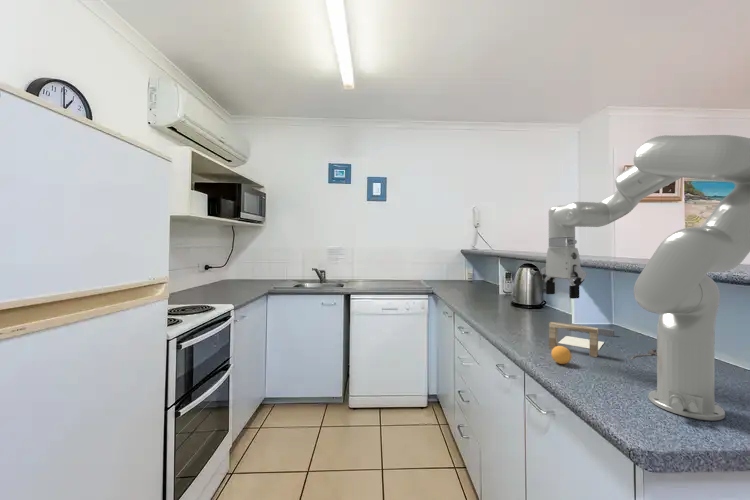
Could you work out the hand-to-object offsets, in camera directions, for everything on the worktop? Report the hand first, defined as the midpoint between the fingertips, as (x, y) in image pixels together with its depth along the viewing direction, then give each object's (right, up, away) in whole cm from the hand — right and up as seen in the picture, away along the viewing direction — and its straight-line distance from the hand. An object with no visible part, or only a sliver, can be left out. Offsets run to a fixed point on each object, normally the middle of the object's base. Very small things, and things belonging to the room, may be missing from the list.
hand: (561, 296), depth 104 cm
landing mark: (+19, -21, +19) cm, 34 cm away
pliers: (+32, -22, +4) cm, 39 cm away
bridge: (+9, -21, +9) cm, 25 cm away
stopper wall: (+33, -21, +34) cm, 51 cm away
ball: (-2, -18, -3) cm, 19 cm away
